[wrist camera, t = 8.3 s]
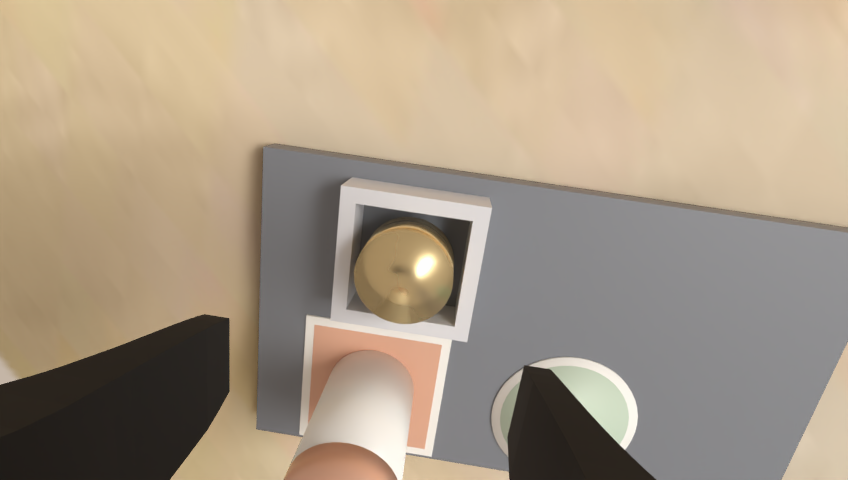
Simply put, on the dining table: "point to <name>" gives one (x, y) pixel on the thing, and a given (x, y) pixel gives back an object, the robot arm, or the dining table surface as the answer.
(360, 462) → the white cylinder
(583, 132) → the dining table surface
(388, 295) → the button
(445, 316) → the board
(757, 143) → the dining table surface
